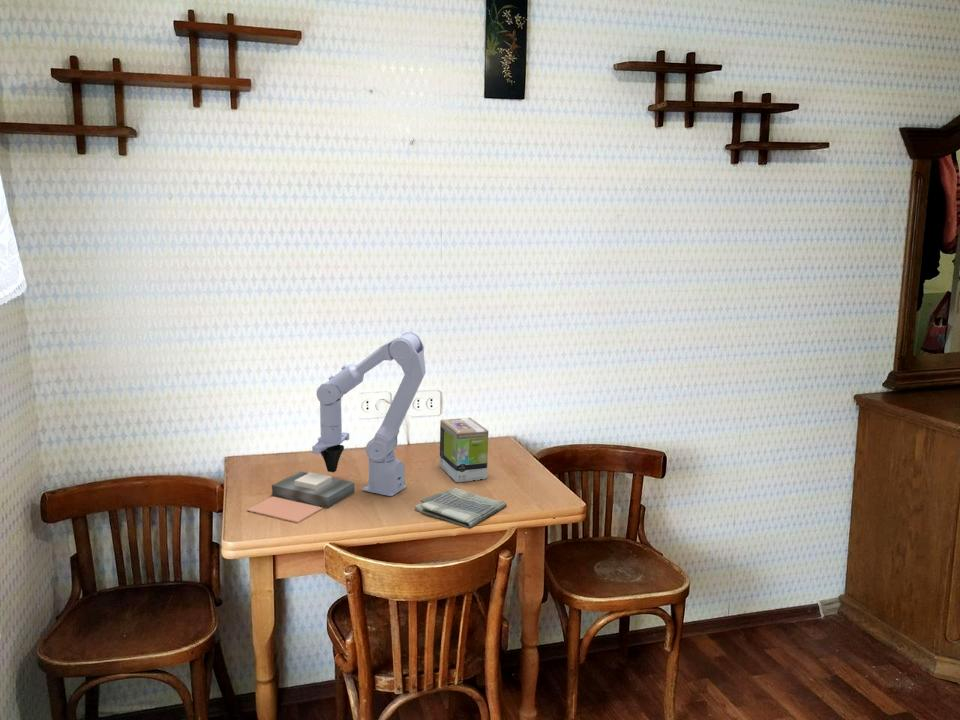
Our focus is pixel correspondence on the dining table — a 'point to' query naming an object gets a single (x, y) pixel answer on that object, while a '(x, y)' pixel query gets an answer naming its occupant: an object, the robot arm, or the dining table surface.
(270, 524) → the dining table surface
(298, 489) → the plate
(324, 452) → the robot arm
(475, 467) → the tea box
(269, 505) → the mat
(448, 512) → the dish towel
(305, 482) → the coaster
